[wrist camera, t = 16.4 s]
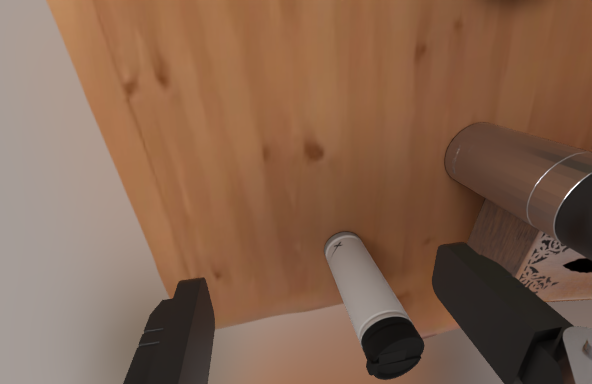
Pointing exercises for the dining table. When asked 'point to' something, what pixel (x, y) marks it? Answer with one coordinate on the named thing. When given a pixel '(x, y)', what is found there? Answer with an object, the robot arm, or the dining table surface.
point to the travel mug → (373, 309)
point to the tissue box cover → (531, 255)
